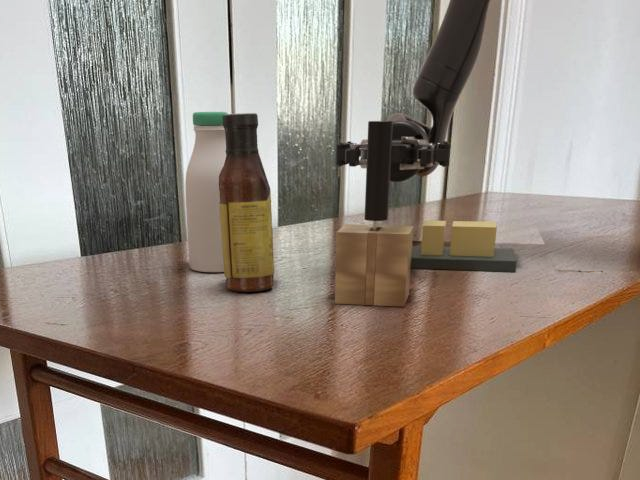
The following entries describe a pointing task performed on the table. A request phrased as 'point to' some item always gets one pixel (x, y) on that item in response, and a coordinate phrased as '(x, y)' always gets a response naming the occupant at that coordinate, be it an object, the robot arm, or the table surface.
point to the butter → (462, 248)
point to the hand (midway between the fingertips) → (387, 157)
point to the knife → (378, 171)
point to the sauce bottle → (245, 209)
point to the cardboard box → (373, 265)
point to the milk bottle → (205, 193)
